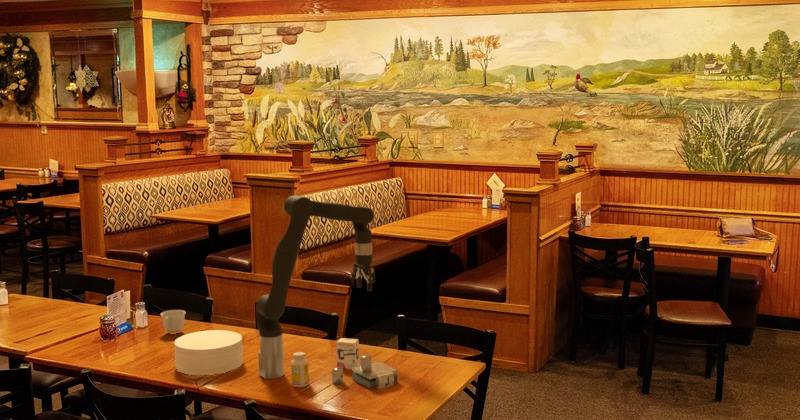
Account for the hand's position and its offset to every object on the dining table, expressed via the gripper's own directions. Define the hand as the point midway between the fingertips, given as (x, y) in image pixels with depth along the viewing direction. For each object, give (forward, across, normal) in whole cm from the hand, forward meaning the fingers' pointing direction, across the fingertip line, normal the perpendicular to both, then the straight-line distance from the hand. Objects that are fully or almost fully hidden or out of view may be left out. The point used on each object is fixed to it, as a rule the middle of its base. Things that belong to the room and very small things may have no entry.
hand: (364, 289), depth 366 cm
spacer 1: (+29, +24, -28) cm, 47 cm away
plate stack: (+30, -28, -61) cm, 73 cm away
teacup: (+30, -83, -58) cm, 105 cm away
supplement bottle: (+30, +17, -41) cm, 53 cm away
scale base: (+29, +32, -15) cm, 46 cm away
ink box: (+30, +10, -15) cm, 35 cm away
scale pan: (+26, +31, -15) cm, 43 cm away
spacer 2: (+24, +31, -19) cm, 44 cm away
